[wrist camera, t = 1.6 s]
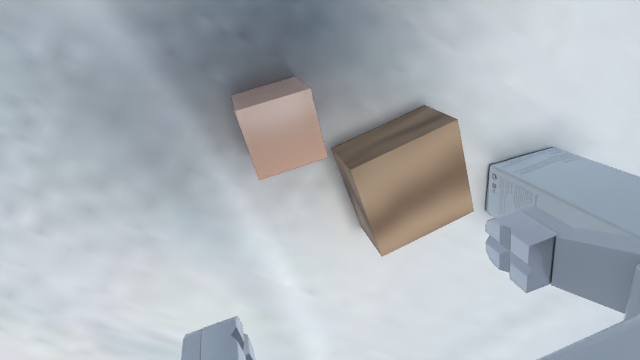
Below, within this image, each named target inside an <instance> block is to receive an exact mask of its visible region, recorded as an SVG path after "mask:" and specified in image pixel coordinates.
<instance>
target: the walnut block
mask: <svg viewBox="0 0 640 360" xmlns="http://www.w3.org/2000/svg"><path fill="white" fill-rule="evenodd" d="M332 151H333V154H334V157H335V159H336V162H337V164H338V167H339V170H340V172H341V175H342V178H343V180H344V183H345V185H346V188H347V191H348V193H349V196H350V198H351V201H352V204H353V206H354V209H355V212H356V214H357V217H358V219H359V222H360V225H361V227H362V229H363V230H364V232H365V233H366V235H367V236H368V237H369V239H370V240H371V242H372V243H373V245H374V246H375V247H376V249H377V250H378V252H379V253H380V255H381V256H384V255H387V254H389V253H391V252H393V251H395V250H397V249H399V248H401V247H403V246H405V245H407V244H409V243H411V242H413V241H415V240H417V239H419V238H421V237H423V236H425V235H427V234H429V233H431V232H433V231H435V230H437V229H439V228H441V227H443V226H445V225H447V224H449V223H451V222H453V221H455V220H457V219H459V218H461V217H463V216H465V215H467V214H469V213H471V212H473V211H474V210H473V204H472V198H471V193H470V187H469V181H468V176H467V170H466V164H465V158H464V153H463V147H462V141H461V136H460V130H459V124H458V119H455V118H453V117H451V116H449V115H446V114H444V113H442V112H439V111H437V110H435V109H432V108H430V107H428V106H425V105H424V106H422V107H420V108H418V109H416V110H414V111H411V112H409V113H407V114H405V115H403V116H401V117H399V118H396V119H394V120H392V121H390V122H388V123H386V124H383V125H381V126H379V127H377V128H375V129H373V130H370V131H368V132H366V133H364V134H362V135H360V136H358V137H355V138H353V139H351V140H349V141H347V142H345V143H342V144H340V145H338V146H336V147H334V148H332Z"/></svg>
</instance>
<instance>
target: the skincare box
mask: <svg viewBox="0 0 640 360" xmlns="http://www.w3.org/2000/svg"><path fill="white" fill-rule="evenodd" d="M528 204H532V205H535V206H537V207H539V208H540V209H542V210H544V211H545V212H547V213H549V214H551V215H552V216H554V217H556V218H557V219H559V220H561V221H563V222H564V223H566V224H568V225H569V226H571V227H573V228H575V229H576V228H579V227H581V228H587V229H592V230H597V231H603V232H608V233H614V234H619V235H625V236H630V237H636V238H640V177H638V176H635V175H632V174H630V173H627V172H624V171H621V170H618V169H615V168H612V167H609V166H606V165H603V164H601V163H598V162H595V161H592V160H589V159H586V158H583V157H580V156H578V155H575V154H572V153H569V152H566V151H563V150H560V149H558V148H555V147H553V148H549V149H546V150H542V151H539V152H535V153H532V154H528V155H525V156H521V157H517V158H514V159H510V160H507V161H504V162H501V163H497V164H493V165H491V166H490V171H489V185H488V192H487V202H486V211H487V213H488V214H489V215H491V216H493V217H494V218H495V217H498V216H500V215H503V214H505V213H508V212H511V211H513V210H515V209H518V208H520V207H523V206H525V205H528Z"/></svg>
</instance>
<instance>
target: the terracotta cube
mask: <svg viewBox="0 0 640 360" xmlns="http://www.w3.org/2000/svg"><path fill="white" fill-rule="evenodd" d="M231 97H232V102H233V107H234V111H235V114H236V117H237V120H238V123H239V125H240V128H241V131H242V134H243V137H244V139H245V142H246V145H247V148H248V151H249V153H250V156H251V159H252V162H253V165H254V167H255V170H256V173H257V176H258V179H259V180H262V179H265V178H268V177H271V176H274V175H277V174H280V173H283V172H286V171H289V170H292V169H295V168H298V167H301V166H304V165H307V164H310V163H313V162H316V161H319V160H322V159H325V158H327V154H326V149H325V145H324V141H323V137H322V133H321V129H320V125H319V121H318V116H317V112H316V108H315V104H314V100H313V96H312V92H311V88H310V87H308V86H307V85H306V84H304V83H303V82H302V81H301V80H299V79H298V78H297V77H295V76H294V77H291V78H288V79H284V80H281V81H277V82H274V83H271V84H267V85H264V86H261V87H257V88H254V89H250V90H247V91H244V92H240V93H237V94H233V95H231Z"/></svg>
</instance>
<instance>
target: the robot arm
mask: <svg viewBox="0 0 640 360" xmlns="http://www.w3.org/2000/svg"><path fill="white" fill-rule="evenodd" d="M485 231H486V232H487V233H488V234H489V237H488V239H487V241H486V252H487V254H488V256H489V259H490V260H491V261H492V263H493V264H494V265H495V266H496V267H497V268H498V269H499V270H502V271H506V272H509V276H510V279H511V280H512V281H513V282H514V283H515V284H516V285H517V286H519V287H520V288H521V289H522V290H523V291H524V292H525V293H528V292H531V291H533V290H536V289H538V288H541V287H544V286H546V285H549V284H551V285H552V286H555V287H557V288H560V289H563V290H565V291H568V292H570V293H573V294H575V295H578V296H581V297H583V298H586V299H588V300H591V301H593V302H596V303H599V304H601V305H604V306H606V307H609V308H611V309H614V310H617V311H619V312H622V313H624V314H625V315H624V320H623V321H622V322H620V323H618V324H615V325H613V326H611V327H609V328H606V329H604V330H602V331H600V332H597V333H595V334H593V335H591V336H589V337H586V338H584V339H582V340H580V341H577V342H575V343H573V344H571V345H569V346H566V347H564V348H562V349H560V350H557V351H555V352H553V353H551V354H549V355H546V356H544V357H542V358H540V359H538V360H640V238H636V237H630V236H625V235H619V234H614V233H608V232H603V231H597V230H592V229H587V228H581V227H579V228H576V229H575V228H573V227H571V226H569V225H568V224H566V223H564V222H563V221H561V220H559V219H557V218H556V217H554V216H552V215H551V214H549V213H547V212H545V211H544V210H542V209H540V208H539V207H537V206H535V205H532V204H528V205H525V206H523V207H520V208H518V209H515V210H513V211H511V212H508V213H505V214H503V215H500V216H498V217H495V218H493V219H490V220H488V221H487V222H486V225H485ZM181 360H255V355H254V351H253V347H252V344H251V342H250V339H249V337H248V335H246V334H244V333H243V325H242V323H241V321H240V319H239V317H237V316H236V317H233V318H230V319H227V320H224V321H221V322H219V323H216V324H213V325H210V326H207V327H204V328H203V329H200V330H197V331H194V332H191V333H189V334H186V335H185V337H184V339H183V346H182V356H181Z"/></svg>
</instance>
